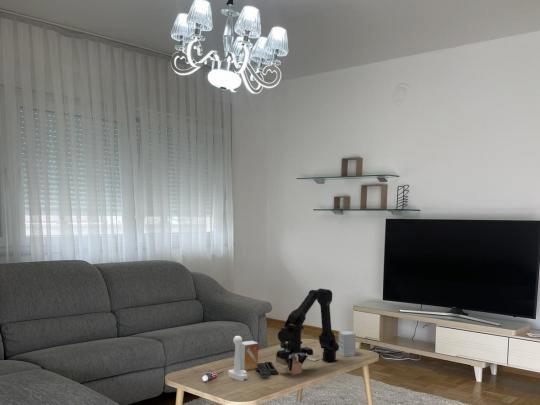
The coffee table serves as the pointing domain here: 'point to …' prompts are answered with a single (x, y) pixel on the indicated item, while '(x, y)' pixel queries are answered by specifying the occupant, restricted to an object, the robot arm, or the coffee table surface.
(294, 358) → the walnut base block
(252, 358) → the small box
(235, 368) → the joystick
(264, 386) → the coffee table surface
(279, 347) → the sage top block
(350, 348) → the supplement box
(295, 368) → the terracotta cube
